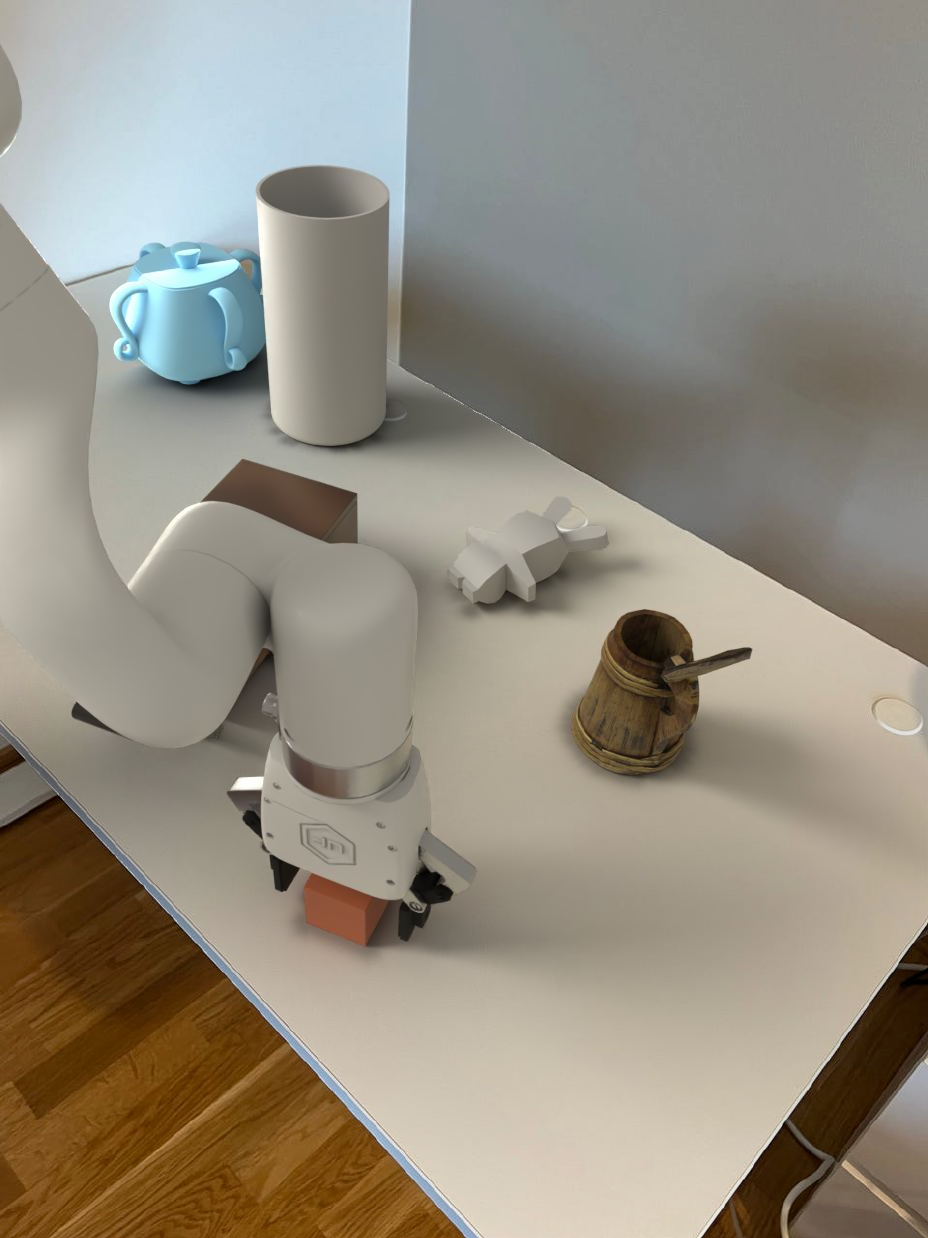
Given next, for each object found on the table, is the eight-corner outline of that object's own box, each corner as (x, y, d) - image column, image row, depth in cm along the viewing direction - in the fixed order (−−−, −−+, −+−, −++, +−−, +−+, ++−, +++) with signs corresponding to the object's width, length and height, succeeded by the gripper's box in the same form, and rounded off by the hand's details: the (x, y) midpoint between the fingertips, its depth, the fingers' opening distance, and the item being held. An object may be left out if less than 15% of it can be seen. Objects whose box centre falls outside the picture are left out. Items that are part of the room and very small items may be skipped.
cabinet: (288, 660, 91) (283, 586, 85) (170, 620, 94) (157, 544, 88) (358, 566, 100) (357, 492, 94) (249, 531, 103) (242, 458, 97)
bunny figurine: (428, 538, 98) (555, 471, 103) (431, 577, 101) (553, 511, 107) (491, 597, 92) (621, 524, 98) (492, 636, 96) (617, 563, 102)
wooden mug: (626, 834, 80) (674, 670, 68) (554, 705, 89) (585, 539, 77) (728, 805, 83) (793, 642, 70) (649, 682, 92) (694, 518, 79)
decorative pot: (243, 405, 119) (233, 291, 109) (104, 384, 120) (82, 269, 110) (285, 334, 130) (279, 226, 121) (158, 315, 131) (142, 206, 122)
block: (305, 923, 73) (303, 887, 70) (335, 871, 76) (334, 834, 73) (365, 947, 72) (365, 912, 69) (392, 893, 75) (394, 857, 72)
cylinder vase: (249, 409, 118) (229, 182, 101) (340, 374, 124) (336, 155, 107) (316, 463, 112) (307, 230, 94) (408, 423, 118) (416, 199, 101)
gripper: (180, 734, 61) (211, 897, 73) (462, 839, 57) (446, 993, 69) (247, 649, 66) (265, 815, 78) (510, 740, 62) (487, 899, 74)
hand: (350, 898), depth 73 cm, fingers open, 8 cm apart
